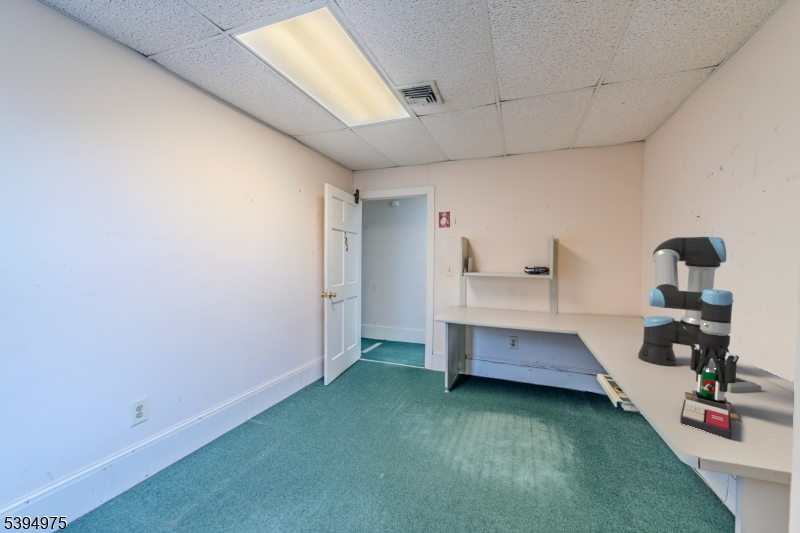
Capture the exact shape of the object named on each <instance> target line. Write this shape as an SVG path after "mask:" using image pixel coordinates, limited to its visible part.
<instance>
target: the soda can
mask: <svg viewBox="0 0 800 533" xmlns="http://www.w3.org/2000/svg"><path fill="white" fill-rule="evenodd" d="M716 381H719V379H718V375H717V370H716V366H711V365H708V366H704V368H702V375H701V390H700V397H701V398H702V399H704V400H708V401H712V402H717V403H719V402H720V400H715V388H716Z"/></svg>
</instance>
